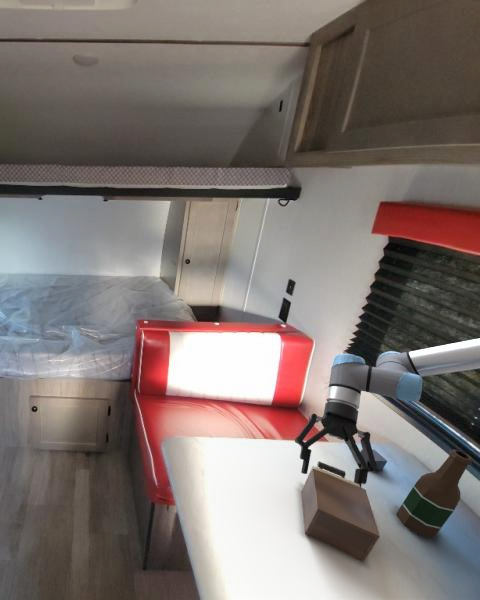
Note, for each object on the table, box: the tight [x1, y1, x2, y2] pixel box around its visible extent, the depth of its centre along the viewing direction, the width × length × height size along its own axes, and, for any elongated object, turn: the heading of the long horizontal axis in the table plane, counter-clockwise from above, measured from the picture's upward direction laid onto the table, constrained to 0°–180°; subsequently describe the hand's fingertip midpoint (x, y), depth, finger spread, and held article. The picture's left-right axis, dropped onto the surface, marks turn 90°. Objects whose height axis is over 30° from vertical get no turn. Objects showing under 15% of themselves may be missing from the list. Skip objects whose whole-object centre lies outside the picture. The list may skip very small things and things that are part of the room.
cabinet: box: [300, 467, 381, 563], centre depth 81 cm, size 13×11×9 cm
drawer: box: [302, 461, 360, 488], centre depth 85 cm, size 17×10×8 cm, turn 151°
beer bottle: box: [395, 448, 473, 540], centre depth 80 cm, size 8×8×24 cm
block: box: [360, 449, 388, 471], centre depth 102 cm, size 4×4×4 cm
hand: (329, 483), depth 89 cm, fingers open, 11 cm apart
